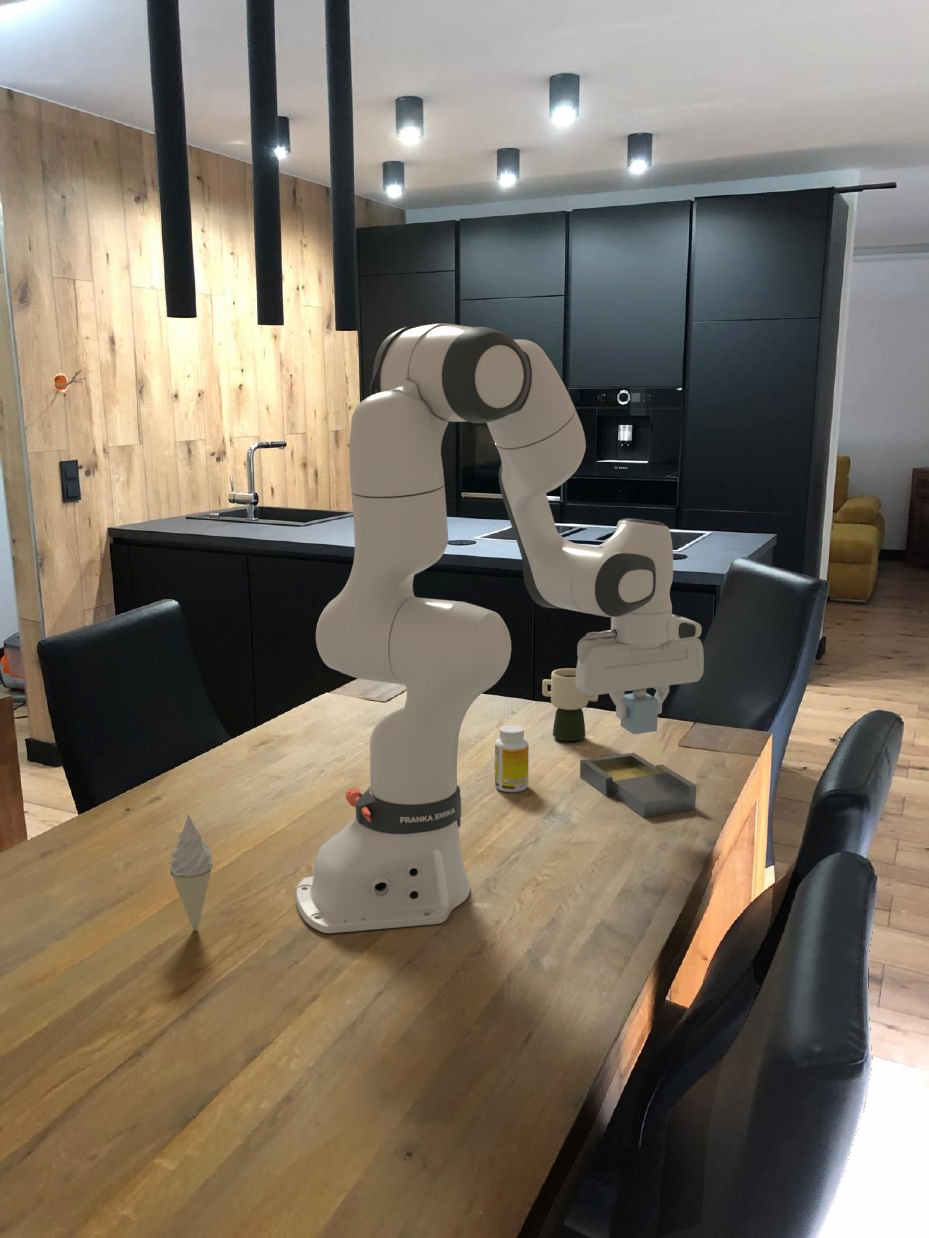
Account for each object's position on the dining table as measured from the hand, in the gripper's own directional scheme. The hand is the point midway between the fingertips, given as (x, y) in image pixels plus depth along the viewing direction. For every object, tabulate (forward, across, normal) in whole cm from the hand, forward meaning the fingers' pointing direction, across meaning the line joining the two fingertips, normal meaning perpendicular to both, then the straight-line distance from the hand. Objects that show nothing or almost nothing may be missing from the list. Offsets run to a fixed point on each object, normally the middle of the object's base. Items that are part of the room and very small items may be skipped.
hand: (638, 715), depth 151 cm
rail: (+16, +4, +7) cm, 18 cm away
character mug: (+17, +6, +36) cm, 40 cm away
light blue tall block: (+2, 0, 0) cm, 2 cm away
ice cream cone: (+15, -68, -12) cm, 70 cm away
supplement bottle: (+16, -14, +17) cm, 27 cm away
